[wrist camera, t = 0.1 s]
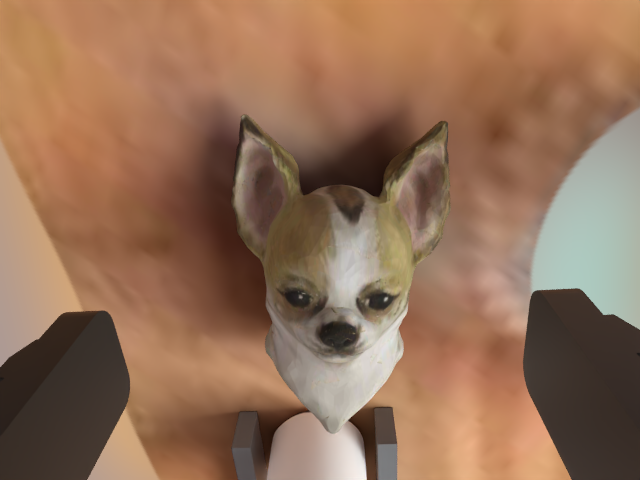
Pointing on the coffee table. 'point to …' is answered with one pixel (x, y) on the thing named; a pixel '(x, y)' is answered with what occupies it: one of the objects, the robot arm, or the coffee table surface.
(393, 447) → the frame
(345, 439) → the can
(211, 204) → the coffee table surface
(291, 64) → the coffee table surface
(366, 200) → the ceramic sculpture
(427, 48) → the coffee table surface
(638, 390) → the robot arm
